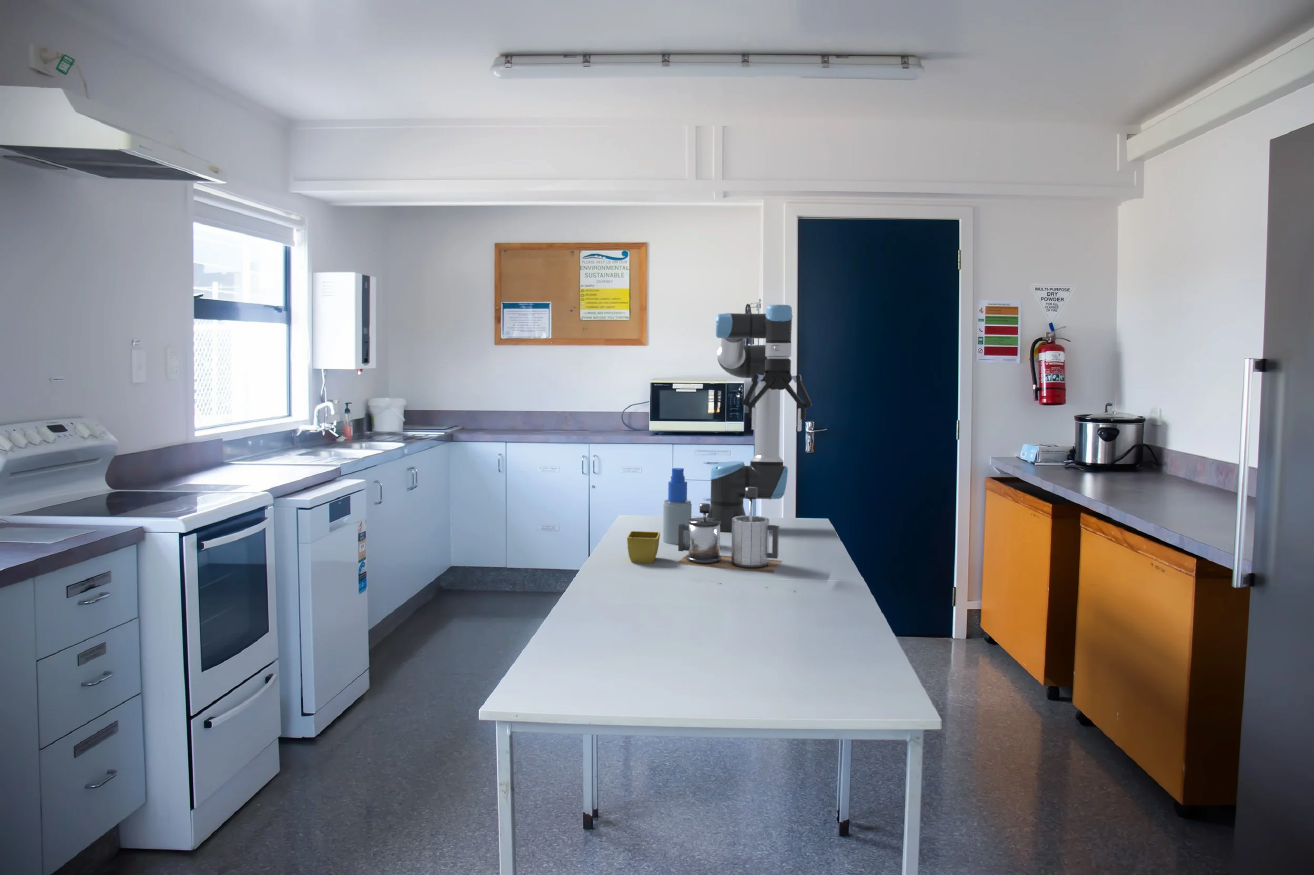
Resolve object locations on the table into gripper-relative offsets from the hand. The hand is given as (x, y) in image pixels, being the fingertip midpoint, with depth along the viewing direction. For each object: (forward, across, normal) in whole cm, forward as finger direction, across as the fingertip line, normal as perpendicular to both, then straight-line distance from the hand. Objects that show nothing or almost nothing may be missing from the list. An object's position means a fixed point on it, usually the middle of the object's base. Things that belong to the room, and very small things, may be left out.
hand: (776, 430), depth 239 cm
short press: (+37, -19, -15) cm, 44 cm away
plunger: (+34, -4, -15) cm, 37 cm away
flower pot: (+39, -34, -21) cm, 56 cm away
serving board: (+39, -10, -15) cm, 43 cm away
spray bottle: (+39, -32, +5) cm, 51 cm away
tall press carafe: (+37, -3, -15) cm, 40 cm away
